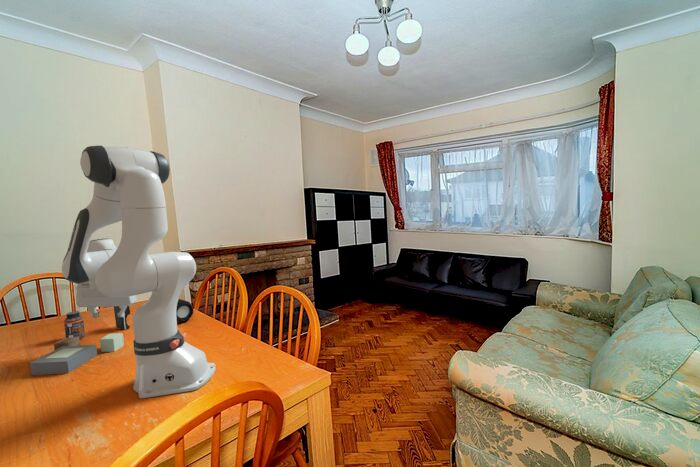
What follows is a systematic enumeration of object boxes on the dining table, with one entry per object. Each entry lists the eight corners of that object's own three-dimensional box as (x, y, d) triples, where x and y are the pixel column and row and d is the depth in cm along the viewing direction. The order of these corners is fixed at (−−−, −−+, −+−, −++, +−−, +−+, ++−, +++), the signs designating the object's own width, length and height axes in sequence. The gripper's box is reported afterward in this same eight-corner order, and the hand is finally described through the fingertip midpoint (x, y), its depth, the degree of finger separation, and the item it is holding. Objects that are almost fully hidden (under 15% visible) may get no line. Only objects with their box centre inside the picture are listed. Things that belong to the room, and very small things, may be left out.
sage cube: (124, 345, 121) (122, 333, 121) (114, 351, 116) (113, 338, 116) (111, 346, 121) (109, 333, 121) (101, 352, 116) (99, 339, 116)
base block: (97, 355, 114) (95, 344, 113) (68, 372, 102) (67, 360, 102) (63, 356, 114) (62, 345, 113) (31, 374, 102) (29, 362, 101)
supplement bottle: (74, 342, 126) (70, 315, 125) (62, 341, 127) (58, 314, 126) (89, 336, 132) (85, 310, 130) (77, 335, 133) (74, 309, 132)
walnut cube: (80, 349, 119) (79, 337, 119) (69, 356, 114) (67, 343, 114) (67, 350, 119) (65, 337, 118) (55, 356, 114) (53, 343, 114)
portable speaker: (196, 319, 147) (194, 298, 146) (174, 326, 139) (172, 305, 138) (170, 310, 162) (169, 291, 161) (149, 316, 154) (147, 296, 153)
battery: (133, 327, 139) (130, 302, 138) (123, 330, 136) (120, 305, 135) (125, 324, 143) (122, 300, 142) (115, 327, 140) (112, 303, 139)
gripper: (68, 284, 113) (73, 321, 115) (126, 283, 114) (130, 319, 115) (83, 280, 119) (87, 314, 121) (137, 278, 120) (140, 313, 121)
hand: (108, 317), depth 118 cm, fingers open, 8 cm apart
